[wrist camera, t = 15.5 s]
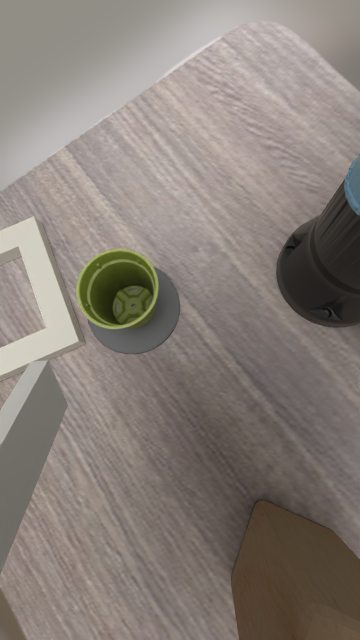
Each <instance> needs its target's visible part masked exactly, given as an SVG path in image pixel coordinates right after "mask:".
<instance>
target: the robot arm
mask: <svg viewBox="0 0 360 640" xmlns="http://www.w3.org/2000/svg"><path fill="white" fill-rule="evenodd" d="M277 280H278V284H279V288H280V290H281V292H282V295H283V296H284V298H285V300H286V301H287V302H288V304H289V305H290V306H291V307H292V308H293V309H294V310H295V311H296V312H297V313H298V314H300V315H301V316H303V317H304V318H306V319H308V320H309V321H312V322H314V323H317V324H319V325H323V326H328V327H348V326H353V325H356V324H359V323H360V155H359V156H358V157H357V158H356V159H355V161H354V162H353V163H352V165H351V166H350V168H349V172H348V174H347V175H346V178H345V179H344V181H343V182H342V184H341V185H340V187H339V188H338V190H337V191H336V193H335V194H334V196H333V197H332V199H331V200H330V202H329V203H328V205H327V206H326V208H325V209H324V210H323V212H322V213H321V215H319V216H318V217H316V218H314V219H312V220H310V221H308V222H306V223H305V224H303V225H302V226H300V227H299V228H298V229H297V230H296V231H295V232H294V233H293V234H292V235H291V236H290V237H289V239H288V240H287V242H286V243H285V245H284V247H283V249H282V251H281V253H280V255H279V258H278V262H277ZM356 386H357V387H358V389H359V390H360V369H359V373H358V377H357V381H356ZM67 406H68V404H67V402H66V399H65V397H64V395H63V393H62V391H61V388H60V386H59V384H58V382H57V379H56V377H55V375H54V373H53V371H52V368H51V366H50V364H49V362H48V360H46V361H34V362H30V363H29V365H28V367H27V368H26V370H25V372H24V373H23V375H22V376H21V378H20V380H19V381H18V383H17V384H16V386H15V388H14V389H13V391H12V392H11V394H10V396H9V397H8V399H7V400H6V402H5V404H4V405H3V407H2V408H1V410H0V573H1V571H2V568H3V566H4V563H5V561H6V558H7V556H8V553H9V551H10V548H11V546H12V543H13V541H14V538H15V536H16V533H17V531H18V528H19V526H20V523H21V521H22V518H23V516H24V513H25V511H26V508H27V506H28V503H29V501H30V498H31V496H32V493H33V491H34V488H35V486H36V483H37V481H38V478H39V476H40V473H41V471H42V468H43V466H44V463H45V461H46V458H47V456H48V453H49V451H50V448H51V446H52V443H53V441H54V438H55V436H56V434H57V431H58V429H59V426H60V424H61V421H62V419H63V416H64V414H65V411H66V409H67Z"/></svg>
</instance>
